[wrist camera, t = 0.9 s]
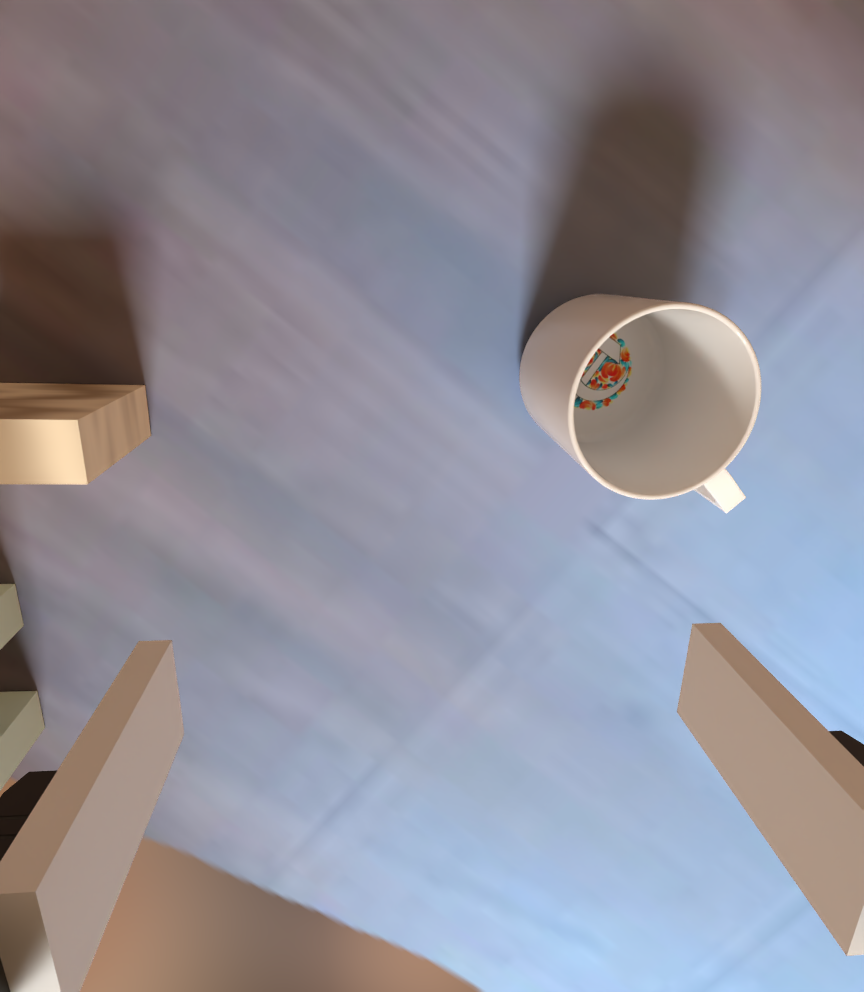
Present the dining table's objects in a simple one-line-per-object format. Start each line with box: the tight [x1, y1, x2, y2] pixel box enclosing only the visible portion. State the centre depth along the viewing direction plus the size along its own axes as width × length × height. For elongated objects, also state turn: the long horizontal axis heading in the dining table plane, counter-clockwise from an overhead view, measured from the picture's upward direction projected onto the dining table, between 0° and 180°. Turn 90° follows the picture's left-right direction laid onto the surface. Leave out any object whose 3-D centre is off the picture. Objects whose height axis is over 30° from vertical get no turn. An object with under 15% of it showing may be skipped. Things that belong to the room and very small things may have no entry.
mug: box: [519, 294, 761, 513], centre depth 34 cm, size 12×9×11 cm
